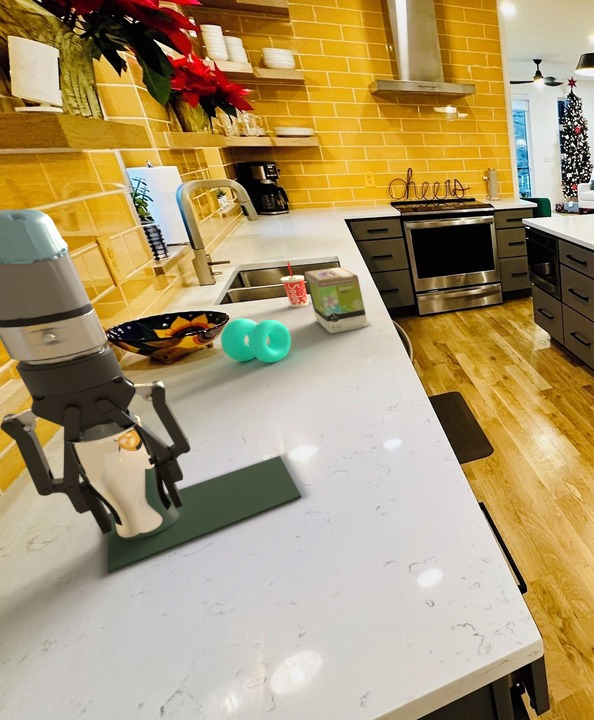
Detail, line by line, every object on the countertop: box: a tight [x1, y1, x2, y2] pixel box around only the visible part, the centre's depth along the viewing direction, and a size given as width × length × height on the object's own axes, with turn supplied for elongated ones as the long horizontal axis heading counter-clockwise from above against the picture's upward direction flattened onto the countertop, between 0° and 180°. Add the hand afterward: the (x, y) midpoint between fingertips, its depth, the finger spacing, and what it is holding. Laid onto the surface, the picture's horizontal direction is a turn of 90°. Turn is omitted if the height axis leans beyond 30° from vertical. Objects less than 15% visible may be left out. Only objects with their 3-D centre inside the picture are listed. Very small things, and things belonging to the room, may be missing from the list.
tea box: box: [304, 266, 369, 334], centre depth 139 cm, size 15×10×15 cm, turn 43°
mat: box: [107, 455, 303, 574], centre depth 70 cm, size 14×20×1 cm
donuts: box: [220, 318, 292, 364], centre depth 116 cm, size 10×10×10 cm
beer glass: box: [66, 415, 180, 541], centre depth 63 cm, size 7×7×15 cm
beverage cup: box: [280, 261, 309, 308], centre depth 155 cm, size 6×6×14 cm
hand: (144, 514), depth 66 cm, fingers closed on beer glass, 6 cm apart
